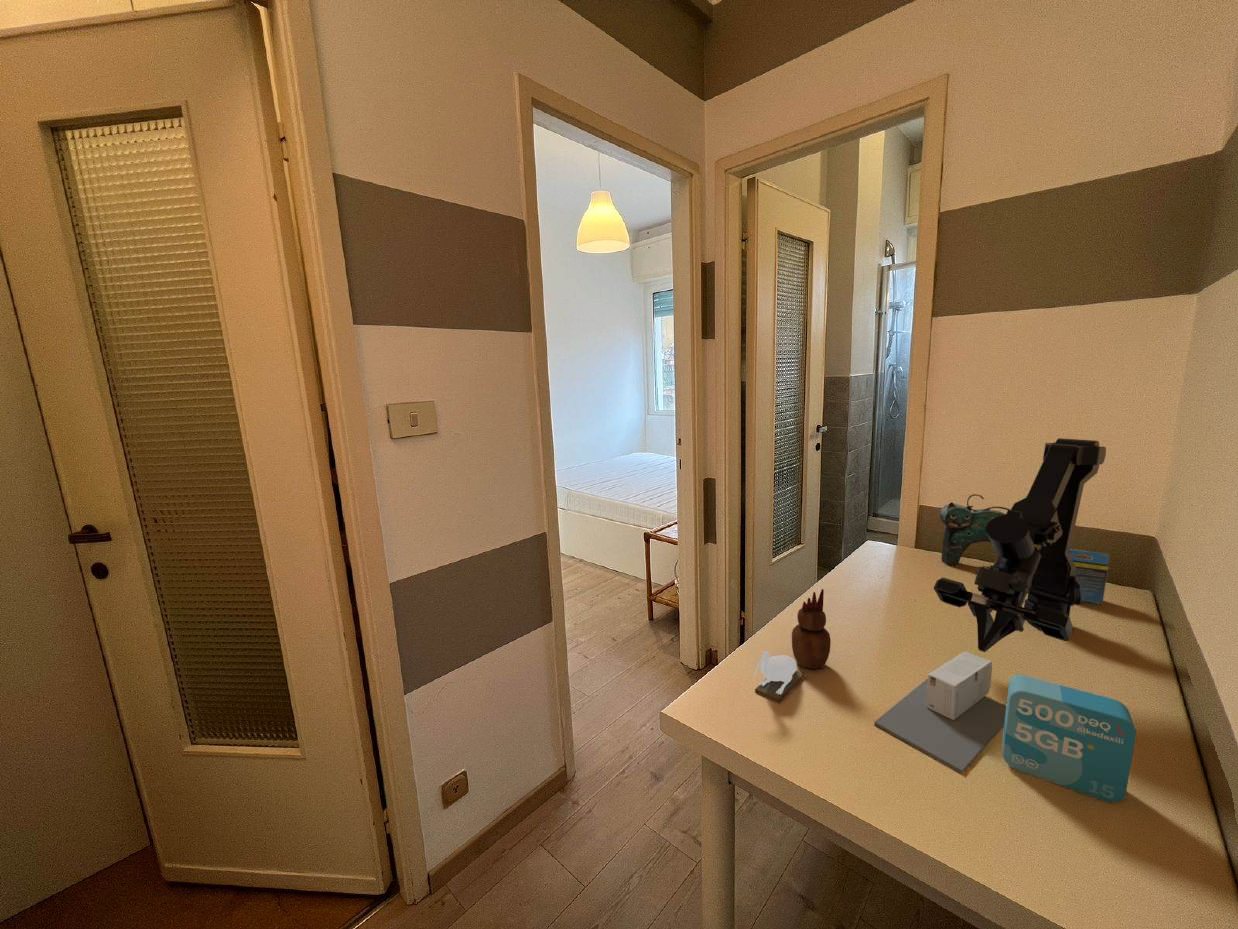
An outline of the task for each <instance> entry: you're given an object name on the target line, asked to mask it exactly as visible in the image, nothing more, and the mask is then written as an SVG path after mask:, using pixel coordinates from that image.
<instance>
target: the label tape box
mask: <svg viewBox="0 0 1238 929" xmlns="http://www.w3.org/2000/svg"><path fill="white" fill-rule="evenodd" d="M1069 554H1070V556H1071V558H1072V560H1073V562H1074V564H1075V566H1076V568H1077V571H1076V577H1078V580H1079V584H1080V585H1081V593H1082V598H1081V603H1088V602H1090V603H1089V604H1095V605H1100V604H1101V605H1102V606H1103V602H1104V596H1105V591H1106V585H1107V579H1108V574H1109V569H1110V567H1109V566H1110V565H1109V563H1110V553H1102V552H1094V551H1087V550H1080V549H1072V548H1070V552H1069ZM1082 555H1083V556H1085V557H1088V558H1082V557H1080V556H1082ZM1076 556H1079V557H1076ZM1089 558H1090V559H1089ZM1068 594H1069V593H1068Z"/></svg>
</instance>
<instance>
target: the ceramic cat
mask: <svg viewBox="0 0 1238 929" xmlns="http://www.w3.org/2000/svg"><path fill="white" fill-rule="evenodd" d="M974 496H975V497H976V496H978V497H979V498H981V499H982V500H984V497H983V496H982V495H980V494H977V493H976V494H970V495H969V496H968V498H967V500H966V501H967V502H966V504H967V505H966V506H963V505H961V504H957V503H953V502H952V501H951V502H949V503H948V504H946V505H944V506H943V507H941V510H940V513H939V518H940V521H941V522H942V523H943V524H944V525H945V530H944V533H943V538H942V548H941V561H942V563H944V564H945V565H946V566H947V567H948V566H952V567H953V566H954V567H957V566H959V565H960V560H961V558H962V556H963V553H964V552H965V550H967V548H969V547H970V546H971V545H972V544H977V543H980V542H981V543H982V542H988V543H991V542H990V539H989V537H988V535H987V532H986V525H987V523H988V522H990V521H991V520H992V519H994V518H995V517H998V516H1002V515H1005V514H1006V513H1004V512H1002V511H1000V510H1001V509H1002V510H1006V511H1008V510H1011V508H1008V507H1004V506H991V507H987V508H983V509H982V508H978V509H974V505H969V500H970V498H972V497H974ZM994 509H995V510H994ZM996 509H1000V510H996Z"/></svg>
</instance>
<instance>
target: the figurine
mask: <svg viewBox="0 0 1238 929" xmlns="http://www.w3.org/2000/svg"><path fill="white" fill-rule="evenodd" d="M759 668H760V672H761V675H762V676H763V677H764V678H765V679H764V680H763V681H760V682H758V686H757V687H755V689H754V692H755V693H757V694H758V695H761V696H762V697H765V698H767V699H769V700H771V701H774V702H775V703H778V704H780V703H781V702H782V701H783V700H784V698H786V696H787V695H788V694H790V692H792V690H794V689H795V687H796V686H797V685H798V684H799V683H800V682H801V681H802V680H803V679H804V678H805V673H804V672H801V671H799V670H797V669H798V667H797V662H796V660H795V658H794V659H793V658H792V657H791V656H789V655H786V654H780V655H773V656H770V652H769V651H768V650H766V651H763V653H762V656H761V658H760V660H759V661H758V663H757V665H756V668H755V671H754V674H753V680H755V679H756V675H757V671H758V670H759ZM802 678H803V679H802Z"/></svg>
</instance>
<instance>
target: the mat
mask: <svg viewBox="0 0 1238 929" xmlns="http://www.w3.org/2000/svg"><path fill="white" fill-rule="evenodd" d="M927 686H928V678H926V679H925V680H924V681H922V682H921V684H919V685H918V686H916V687H915V688H914V689H913V690H912V691H911V692H909V693H908V694H907V695H905V696H904V697H903V698H902V699H900V700H899V701H898V702H897V703H896V704H894V706H892V707H890V709H889V710H887V711H885V713H884V714H882V715H881V716H880V717H878V718H877V719H876V720H874V723H873V724H874V726H876V727H878V728H879V729H882V730H883V731H885V732H887V733H889V734H890V735H892V736H894V737H896V738H898V739H899V740H900V741H903V742H904V743H906V744H908V745H910V746H912V747H914V748H915V749H917V750H919V751H921V752H922V753H924V754H926V755H928V756H929V757H930V758H931V757H932V758H933V759H935V760H937V761H939V763H942V764H944V765H946V766H947V767H949V768H951V769H953V770H955V771H956V772H958V773H959V774H963V773H964V772H965V771H966V769H967V768H969V766H970V765H971V764H972V763H973V762H974V761H975V760H976V759H977V757H978V756H979V755H980V754H981V753H982V752H983V750H984V749H985V748H986V747H987V746H988V745H989V743H991V741H992V740H993V739H994V738H995V736H997V735H998V733H999V732H1000V731H1001V730H1002V729H1003V728H1004V721H1005V713H1006V704H1003V703H1001V702H998V701H996V700H994V699H993V698H989V697H987V696H984V697H983V698H982V699H980V700H979V701H978V702H976V703H975V704H974V705H973V706H971V707H970V708H969V709H967V710H966V711H965V712H964V713H962V714H961V715H960V716H958V717H957V718H956V719H955V720H952V719H950V718H948V717H945V716H943V715H941V714H939V713H937V712H935V711H933V710H931V709H929V708H927V707H926V702H927V694H926V689H927Z"/></svg>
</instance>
